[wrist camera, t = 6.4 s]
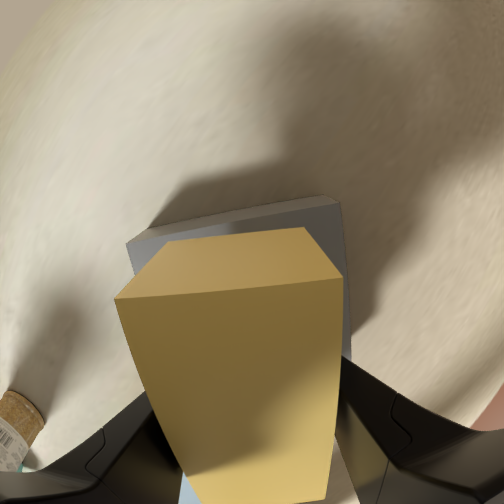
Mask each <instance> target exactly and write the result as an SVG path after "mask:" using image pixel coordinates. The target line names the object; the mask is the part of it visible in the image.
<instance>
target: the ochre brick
mask: <svg viewBox="0 0 504 504" xmlns="http://www.w3.org/2000/svg"><path fill="white" fill-rule="evenodd" d="M114 301H115V304H116V308H117V311H118V314H119V318H120V321H121V324H122V327H123V330H124V334H125V337H126V340H127V343H128V346H129V348H130V351H131V354H132V357H133V360H134V363H135V365H136V368H137V371H138V373H139V376H140V379H141V381H142V384H143V386H144V389H145V391H146V394H147V396H148V398H149V401H150V403H151V406H152V408H153V410H154V413H155V415H156V417H157V419H158V422H159V424H160V426H161V428H162V430H163V432H164V435H165V437H166V439H167V441H168V443H169V445H170V447H171V449H172V451H173V453H174V455H175V457H176V459H177V461H178V463H179V465H180V466H181V468H182V470H183V472H184V474H185V476H186V478H187V479H188V481H189V483H190V485H191V486H192V488H193V490H194V492H195V493H196V495H197V497H198V498H199V500H200V502H201V503H202V504H295V503H303V502H310V501H317V500H323V499H325V495H326V490H327V484H328V477H329V471H330V464H331V457H332V450H333V442H334V434H335V426H336V416H337V406H338V395H339V383H340V368H341V351H342V328H343V276H342V275H341V274H340V272H339V271H338V270H337V268H336V267H335V266H334V265H333V263H332V262H331V261H330V259H329V258H328V257H327V255H326V254H325V253H324V252H323V250H322V249H321V248H320V247H319V245H318V244H317V243H316V242H315V240H314V239H313V238H312V237H311V235H310V234H309V233H308V232H307V230H306V229H305V228H304V227H298V228H288V229H278V230H269V231H259V232H250V233H240V234H231V235H222V236H213V237H204V238H195V239H187V240H178V241H170V242H167V243H166V244H165V245H164V246H163V247H162V248H161V249H160V250H159V251H158V252H157V253H156V254H155V255H154V257H153V258H152V259H151V260H150V261H149V262H148V263H147V264H146V265H145V266H144V267H143V268H142V269H141V270H140V271H139V272H138V273H137V274H136V275H135V277H134V278H133V279H132V280H131V281H130V282H129V283H128V284H127V285H126V286H125V287H124V288H123V289H122V291H121V292H120V293H119V294H118V295H117V296H116V297H115V298H114Z"/></svg>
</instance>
